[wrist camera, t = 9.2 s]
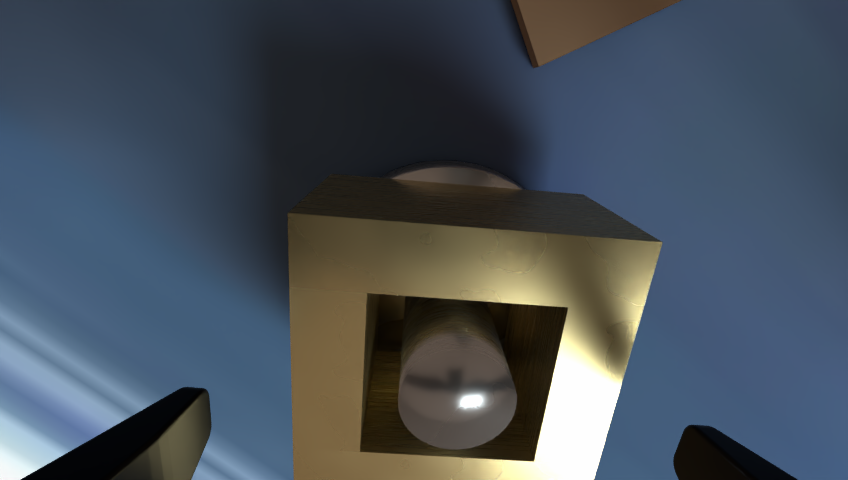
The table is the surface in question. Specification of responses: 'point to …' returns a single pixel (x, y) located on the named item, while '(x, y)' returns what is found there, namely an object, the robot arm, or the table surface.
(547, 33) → the walnut stand
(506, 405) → the cylinder
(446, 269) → the brass square frame
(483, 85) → the table surface
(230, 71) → the table surface
